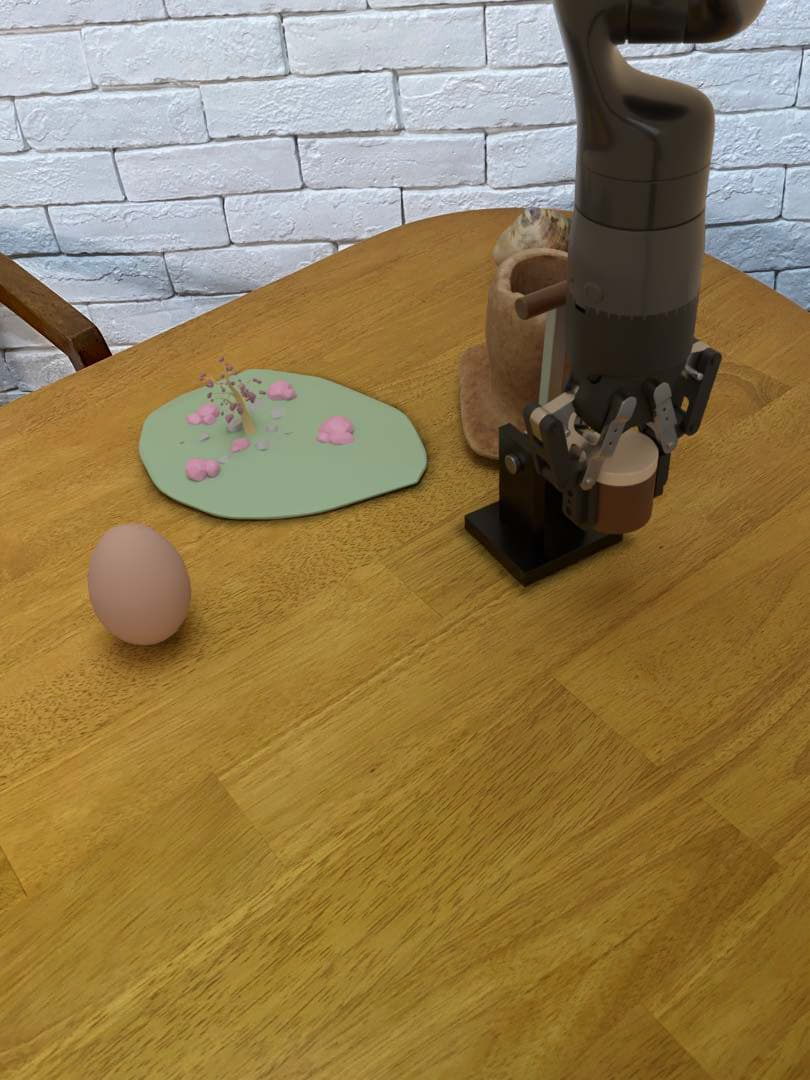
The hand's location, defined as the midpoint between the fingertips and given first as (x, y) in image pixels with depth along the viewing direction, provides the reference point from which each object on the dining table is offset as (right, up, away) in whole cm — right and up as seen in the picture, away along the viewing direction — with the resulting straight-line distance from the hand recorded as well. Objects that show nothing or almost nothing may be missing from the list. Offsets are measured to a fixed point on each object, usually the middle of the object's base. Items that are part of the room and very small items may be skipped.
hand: (614, 505), depth 75 cm
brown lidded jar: (0, 0, 0) cm, 0 cm away
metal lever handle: (-3, +8, 0) cm, 8 cm away
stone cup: (-3, +8, +22) cm, 24 cm away
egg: (-32, -9, +5) cm, 34 cm away
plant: (-24, +6, +22) cm, 33 cm away
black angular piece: (-3, -2, +11) cm, 11 cm away
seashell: (0, +24, +40) cm, 47 cm away
